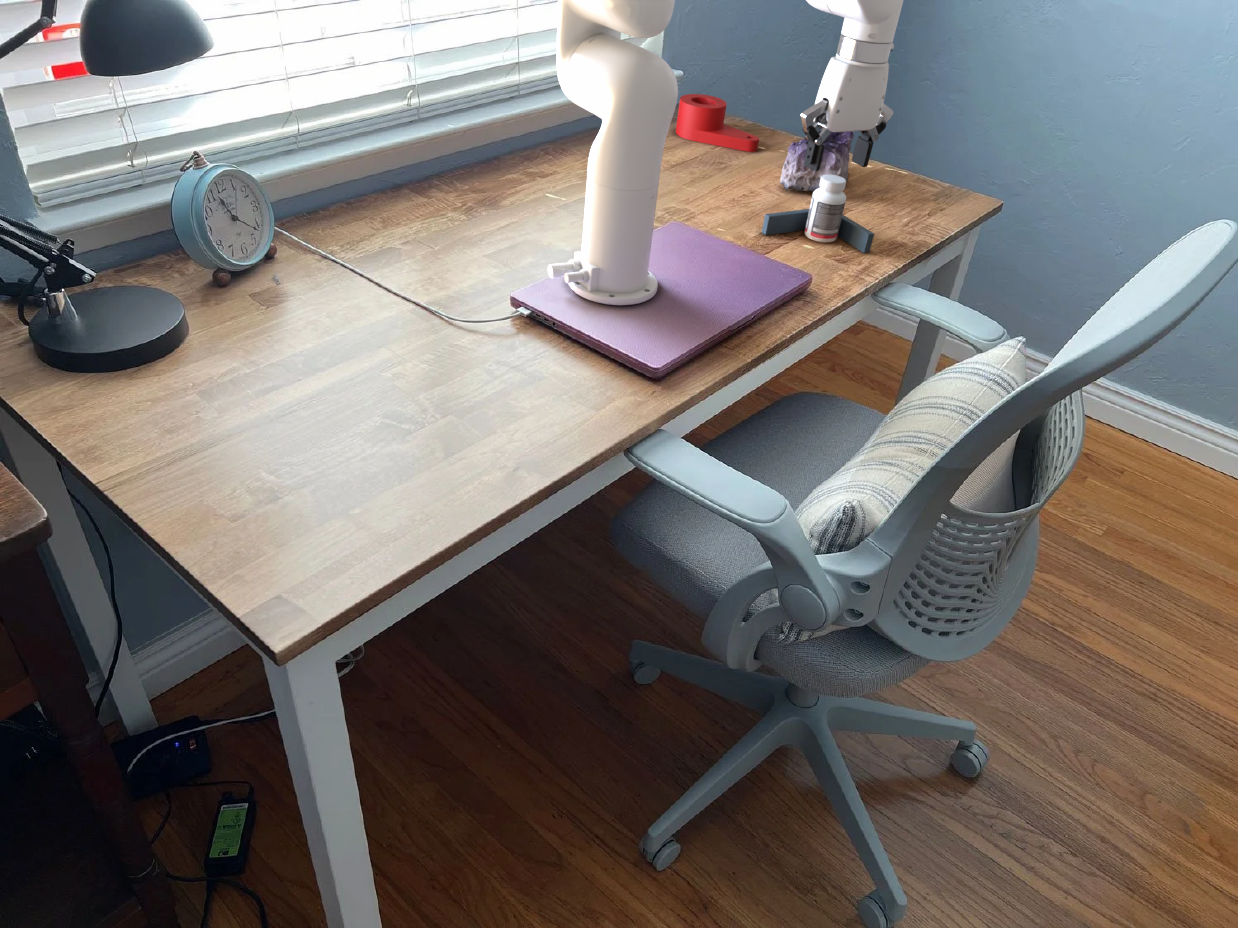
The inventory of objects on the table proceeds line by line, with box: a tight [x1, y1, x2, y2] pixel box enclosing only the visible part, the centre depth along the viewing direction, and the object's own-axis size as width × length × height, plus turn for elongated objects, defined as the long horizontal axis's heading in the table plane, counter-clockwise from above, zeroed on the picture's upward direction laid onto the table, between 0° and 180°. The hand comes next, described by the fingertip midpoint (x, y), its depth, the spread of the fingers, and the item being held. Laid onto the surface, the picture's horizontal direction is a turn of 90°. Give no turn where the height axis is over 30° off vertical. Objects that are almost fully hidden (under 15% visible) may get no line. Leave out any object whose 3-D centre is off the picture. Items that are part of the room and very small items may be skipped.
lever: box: [675, 93, 760, 153], centre depth 191 cm, size 18×9×7 cm, turn 57°
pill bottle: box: [804, 175, 847, 244], centre depth 153 cm, size 5×5×10 cm
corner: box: [761, 208, 875, 254], centre depth 153 cm, size 13×12×3 cm
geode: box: [779, 129, 855, 192], centre depth 175 cm, size 20×12×10 cm, turn 155°
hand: (835, 166), depth 149 cm, fingers open, 9 cm apart
